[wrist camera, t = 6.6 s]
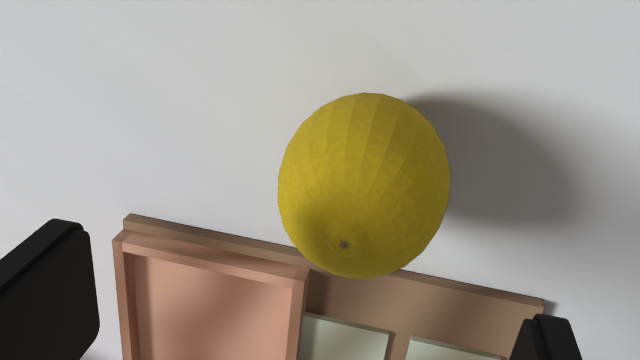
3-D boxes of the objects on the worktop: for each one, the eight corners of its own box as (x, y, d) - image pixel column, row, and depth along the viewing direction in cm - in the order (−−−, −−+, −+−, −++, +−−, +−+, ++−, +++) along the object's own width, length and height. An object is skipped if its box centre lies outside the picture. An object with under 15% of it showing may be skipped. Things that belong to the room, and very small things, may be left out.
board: (541, 298, 23) (548, 324, 21) (484, 451, 27) (486, 480, 26) (129, 213, 25) (110, 230, 24) (140, 366, 30) (125, 388, 29)
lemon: (480, 135, 20) (499, 250, 13) (382, 222, 23) (354, 358, 16) (372, 36, 19) (331, 103, 12) (282, 138, 22) (207, 241, 15)
